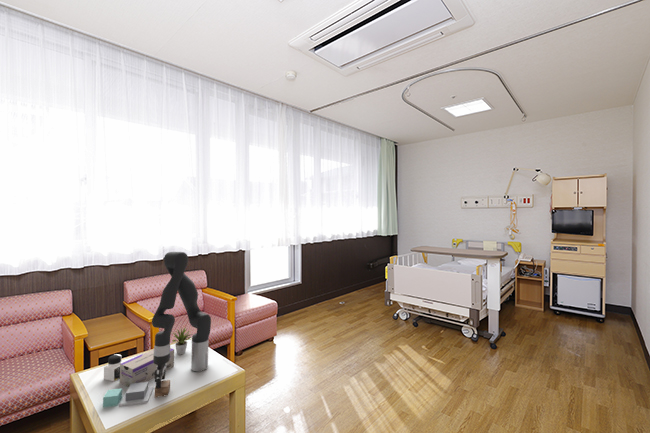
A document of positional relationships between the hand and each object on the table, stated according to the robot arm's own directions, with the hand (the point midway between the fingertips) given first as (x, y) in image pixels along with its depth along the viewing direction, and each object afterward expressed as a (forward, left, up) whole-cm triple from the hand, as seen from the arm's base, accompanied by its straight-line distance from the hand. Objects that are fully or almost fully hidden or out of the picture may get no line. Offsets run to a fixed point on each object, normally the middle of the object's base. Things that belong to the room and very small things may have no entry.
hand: (160, 383), depth 156 cm
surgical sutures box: (+10, -20, -6) cm, 23 cm away
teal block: (+20, +3, -5) cm, 21 cm away
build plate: (+10, +1, -5) cm, 11 cm away
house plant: (-3, -42, -5) cm, 42 cm away
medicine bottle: (+27, -21, -5) cm, 35 cm away
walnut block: (-1, 0, -5) cm, 5 cm away
